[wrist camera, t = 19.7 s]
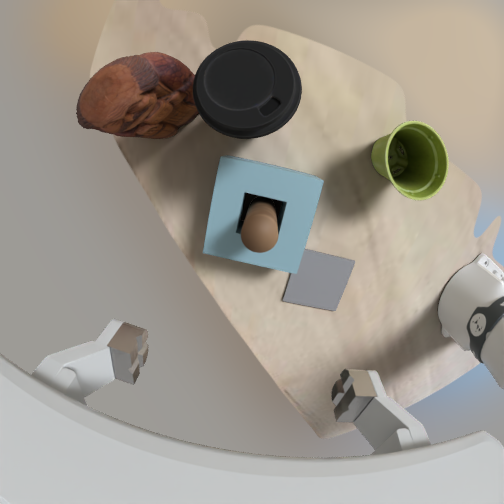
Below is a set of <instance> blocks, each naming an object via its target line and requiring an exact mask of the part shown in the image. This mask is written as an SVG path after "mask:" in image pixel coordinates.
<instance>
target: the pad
mask: <svg viewBox="0 0 504 504" xmlns="http://www.w3.org/2000/svg"><path fill="white" fill-rule="evenodd" d="M354 264H355V261H354V260H350V259H345V258H341V257H337V256H333V255H329V254H325V253H320V252H316V251H312V250H308V249H304V252H303V255H302V259H301V262H300V265H299V268H298V271H297V274H294V273H291V275H290V278H289V281H288V284H287V288H286V291H285V294H284V297H283V301H285V302H290V303H295V304H300V305H305V306H310V307H316V308H321V309H327V310H332V311H336V309H337V306H338V304H339V302H340V299H341V297H342V294H343V292H344V289H345V287H346V284H347V282H348V279H349V277H350V274H351V272H352V269H353V266H354Z"/></svg>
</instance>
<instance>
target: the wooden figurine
mask: <svg viewBox="0 0 504 504" xmlns="http://www.w3.org/2000/svg"><path fill="white" fill-rule="evenodd" d="M194 77H195V75H194V74H193V73H192V72H191V71H190V69H189V68H188V67H187V66H186V65H184V64H183V63H182V62H180V61H179V60H177V59H175V58H173V57H171V56H169V55H166V54H163V53H159V52H149V53H144V54H141V55H134V56H129V57H127V56H126V57H122V58H119V59H116V60H115V61H112V62H111V63H109V64H107V65H105V66H104V67H103V68H101V69H100V70H99V71H98V72H97V73H95V75H93V77H92V78H91V79H90V80H89V82H88V83H87V84H86V85H85V87H84V89H83V90H82V92H81V94H80V96H79V99H78V103H77V113H76V114H77V118H78V123H79V124H80V125H81V126H82V127H83V128H86V129H96V130H99V131H101V132H105V133H109V134H115V135H116V136H122V137H143V138H151V139H163V138H168V137H171V136H173V135H175V134H176V133H177V132H178V128H179V127H181V126H183V125H186V124H188V123H189V122H191V121H192V120H194V118H195V117H196V115H197V114H199V112H198V110H197V108H196V105H195V103H194V99H193V81H194Z"/></svg>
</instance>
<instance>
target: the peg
mask: <svg viewBox="0 0 504 504" xmlns="http://www.w3.org/2000/svg"><path fill="white" fill-rule="evenodd" d="M241 240H242V242H243V244H244V245H245V247H246V248H247V249H249V250H250V251H253V252H256V253H263V252H267V251H269V250H271V249H272V248H273V247H274V246H275V245H276V243H277V241H278V226H277V217H276V209H275V204H274V202H273V201H272V199H270V198H268V197H263V196H258V197H255V198H254V199H253V200H252V201H251V203H250V205H249V208H248V211H247V214H246V218H245V221H244V224H243V227H242V230H241Z"/></svg>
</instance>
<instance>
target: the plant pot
mask: <svg viewBox="0 0 504 504" xmlns="http://www.w3.org/2000/svg"><path fill="white" fill-rule="evenodd" d="M399 146H400V147H401V148H402V150H403V153H404V154H403V155H402V153H401V150H400V149H399ZM389 156H392V159H389ZM371 160H372V163H373V166H374V168H375V169H376V171H377V172H378V173H379V174H380V175H382V176H383V177H385V178H387V179H388V180H390V181H391V183H392V184H393V186H394V187H395V188H396V189H397V190H398V191H399V192H400V193H401V194H402V195H404V196H405V197H407V198H410V199H413V200H426V199H429V198H431V197H432V196H434V195H435V194H436V193H438V192H439V190H440V189H441V188H442V186H443V185H444V183H445V180H446V177H447V174H448V166H449V163H448V154H447V150H446V147H445V145H444V143H443V141H442V139H441V137H440V136H439V134H438V133H437V132H436V131H435V130H434V129H433V128H431V127H430V126H429V125H427V124H425V123H423V122H419V121H408V122H404V123H402V124H400V125H399V126H397V127H396V128H395V129H394V130H393V132H392V133H391V134H389V135H387V136H384V137H382V138H380V139H378V140H377V141H376V142H375V144H374V145H373V149H372V154H371ZM398 169H400V171H398V172H397V173H396V174H393V172H394V171H396V170H398Z"/></svg>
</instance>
